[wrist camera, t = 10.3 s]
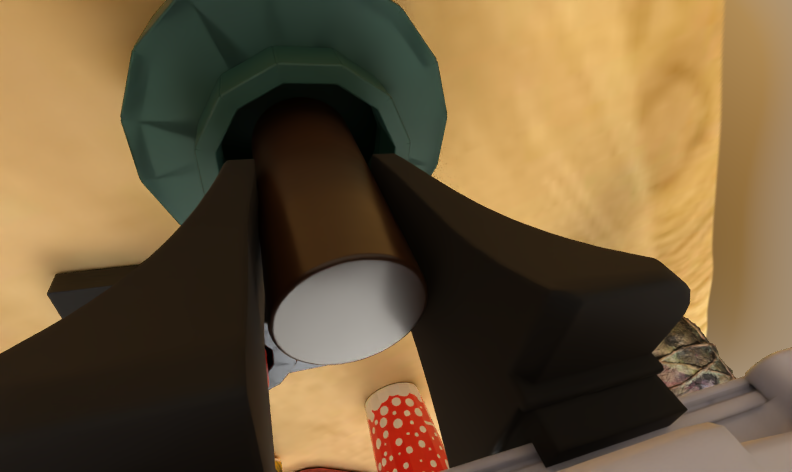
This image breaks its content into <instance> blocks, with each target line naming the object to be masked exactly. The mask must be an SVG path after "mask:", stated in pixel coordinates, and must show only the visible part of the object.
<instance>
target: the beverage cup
mask: <svg viewBox="0 0 792 472" xmlns="http://www.w3.org/2000/svg"><path fill="white" fill-rule="evenodd" d="M365 410H366V415H367V421H368V426H369V431H370V436H371V441H372V446H373V451H374V456H375V461H376V466H377V471H378V472H440V471H443V470H446V469H449V464H448V460H447V456H446V452H445V448H444V446H443V443H442V441H441V439H440V437H439V434H438V432H437V430H436V428H435V426H434V423H433V421H432V419H431V417H430V415H429V412H428V410H427V408H426V406H425V404H424V401H423V399H422V397H421V395H420V393H419V390H418V388H417V387H416V386H415V385H414V384H411V383H407V382H406V383H396V384H392V385H389V386H386V387H384V388H382V389H380V390H378V391H376V392H375V393H374V394H372V395H371V396H370V397H369V398H368V400H367V401H366V403H365Z"/></svg>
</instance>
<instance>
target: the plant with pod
mask: <svg viewBox="0 0 792 472" xmlns="http://www.w3.org/2000/svg"><path fill="white" fill-rule="evenodd" d="M652 354H653V355H654V356H655V357H656V358H657V359H658V360H659V361H660V362H661V364H662V365H663V368H664V370H663V371H662V372H661V374H657V375H658V377H659V378H660V379H661V380H662V381H663V382H664V383H665V384H666V386H667V387H668V388H669V389H670V390H671V391H672V392H673V393H674V395H675V396H676V397H680V396H683V395H686V394H689V393H692V392H696V391H699V390H702V389H705V388H708V387H712V386H715V385H718V384H721V383H724V382H728V381H731V380H734V379H736V378H735V377H734V376H733V374H732V373H733V372H732V370H731V369H730V368H729V367H728V366H727V365H726V364H725V363H724V362H723V361H722V359H721V358H720V357H719V354H718V351H717V349H716V346H715V345H714V344H712V343H709V341H708V340H707V338H706V337H705V336H704V334H703V333H702V332H701V330H700V328H699V327H697V326H696V324H695V323H692V322H691V321H690V320H689V319H688V318H685V317H682V318H681V319H680V321H679V322H678V323H677V325H676V326H675V327H674V328H673V329H672V330H671V332H670V333H669V334H668V335H667V336H666V337H665V338H664V340H663V341H662V342H661V343H660V344H659V345H658V347H657V348H656V349H655V350H654V351H653V352H652Z"/></svg>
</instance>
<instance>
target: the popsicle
mask: <svg viewBox="0 0 792 472" xmlns="http://www.w3.org/2000/svg"><path fill="white" fill-rule="evenodd" d="M299 472H348V471H340V470H332V469H324V468H315V469H306V470H303V471H299Z"/></svg>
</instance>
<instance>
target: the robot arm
mask: <svg viewBox="0 0 792 472" xmlns="http://www.w3.org/2000/svg"><path fill="white" fill-rule="evenodd" d="M370 171H371V173H372V175H373V177H374V179H375V181H376V183H377V185H378V187H379V189H380V191H381V193H382V195H383V197H384V199H385V201H386V202H387V204H388V206H389V208H390V210H391V212H392V214H393V216H394V218H395V220H396V222H397V224H398V226H399V228H400V230H401V232H402V234H403V236H404V238H405V240H406V242H407V244H408V246H409V248H410V250H411V252H412V254H413V256H414V258H415V259H416V261H417V263H418V265H419V267H420V269H421V271H422V273H423V275H424V277H425V280H426V282H427V287H428V300H427V305H426V308H425V311H424V313H423V315H422V317H421V318H420V320H419V321H418V323H417V324H416V325H415V327H414V328H413V329H412V330H411V332H412V335H413V338H414V341H415V344H416V347H417V350H418V354H419V357H420V360H421V364H422V367H423V370H424V374H425V377H426V380H427V384H428V387H429V391H430V394H431V398H432V402H433V405H434V409H435V413H436V416H437V420H438V424H439V428H440V432H441V436H442V440H443V444H444V448H445V452H446V456H447V460H448V464H449V469H446V470H443V471H440V472H792V347H791V348H788V349H784V350H781V351H777V352H775V353H772V354H770V355H768V356H766V357H765V358H763V359H761V360H760V361H759V362H757V363H756V364H755V365H754V366H752V367H751V368H750V369H749V370H748V371H747V372H746V373H745V376H744V377H740V378H737V379H734V380H731V381H728V382H724V383H721V384H718V385H715V386H712V387H708V388H705V389H702V390H699V391H696V392H692V393H689V394H686V395H683V396H680V397H676V396H675V395H674V393H673V392H672V391H671V390H670V389H669V388H668V387H667V386H666V384H665V383H664V382H663V381H662V380H661V379H660V378H659V377H658V375H657V374H661V372H662V371H663V370H664V368H663V365H662V364H661V362H660V361H659V360H658V359H657V358H656V357H655V356H654V355H653V354H652V352H653V351H654V350H655V349H656V348H657V347H658V345H659V344H660V343H661V342H662V341H663V340H664V338H665V337H666V336H667V335H668V334H669V333H670V332H671V330H672V329H673V328H674V327H675V326H676V325H677V323H678V322H679V321H680V319H681V318H682V317H683V315H684V314H685V312H686V310H687V308H688V306H689V304H690V289H689V287H688V286H687V284H686V283H685V282H683V281H682V280H681V279H680V278H679V277H678V276H676V275H675V274H674V273H673V272H672V271H671V270H669V269H668V268H667V267H666V266H665V265H664V264H662V263H661V262H660V261H658V260H657V259H655V258H650V257H645V256H640V255H635V254H630V253H625V252H621V251H616V250H611V249H606V248H601V247H597V246H594V245H590V244H586V243H582V242H579V241H575V240H571V239H568V238H564V237H561V236H558V235H555V234H551V233H548V232H546V231H543V230H540V229H537V228H534V227H531V226H529V225H526V224H523V223H521V222H518V221H516V220H513V219H511V218H508V217H506V216H504V215H502V214H499V213H497V212H495V211H493V210H491V209H488V208H486V207H484V206H482V205H480V204H478V203H476V202H475V201H473V200H471V199H469V198H467V197H465V196H464V195H462V194H460V193H458V192H456V191H455V190H453V189H451V188H450V187H448V186H446V185H445V184H443V183H441V182H440V181H438V180H437V179H435V178H433V177H432V176H430V175H429V174H427V173H426V172H424V171H422V170H421V169H419V168H418V167H416V166H415V165H413V164H412V163H410V162H408V161H407V160H405V159H403V158H402V157H400V156H398V155H396V154H394V153H391V154H372V158H371V170H370ZM264 311H265V291H264V280H263V269H262V258H261V247H260V235H259V198H258V187H257V177H256V169H255V160H254V159H243V160H227V161H226V162H225V163H224V164H223V166H222V168H221V170H220V172H219V174H218V176H217V177H216V179H215V181H214V182H213V184H212V185H211V187H210V188H209V190H208V191H207V193H206V194H205V196H204V197H203V198H202V200H201V201H200V203H199V204H198V205H197V207H196V208H195V209H194V210H193V212H192V213H191V214H190V215H189V216H188V218H187V219H186V220H185V221H184V222H183V224H182V225H181V226H180V227H179V228H178V229H177V231H176V232H175V233H174V234H173V235H172V236H171V237H170V238H169V239H168V240H167V241H166V242H165V243H164V244H163V245H162V246H161V247H160V248H159V249H158V250H157V251H156V252H155V253H153V254H152V255H151V256H150V257H149V258H148V259H146V260H145V261H144V262H143V263H141V264H140V265H139V266H138V267H136V268H135V269H134V270H132V271H131V272H130V273H129V274H127V275H126V276H125V277H123V278H122V279H121V280H120V281H118V282H117V283H116V284H114V285H113V286H112V287H110V288H109V289H107V290H106V291H104V292H103V293H101V294H100V295H99V296H97V297H96V298H94V299H93V300H91V301H90V302H88V303H87V304H85V305H83V306H82V307H80V308H79V309H77V310H76V311H74V312H72V313H71V314H69V315H68V316H66V317H65V318H63V319H61V320H60V321H58V322H56V323H55V324H53V325H51V326H49V327H48V328H46V329H44V330H42V331H41V332H39V333H37V334H35V335H33V336H32V337H30V338H28V339H26V340H24V341H23V342H21V343H19V344H17V345H15V346H13V347H12V348H10V349H8V350H6V351H4V352H3V353H1V354H0V472H276V468H275V457H274V446H273V436H272V425H271V414H270V403H269V391H268V380H267V369H266V357H265V343H264Z"/></svg>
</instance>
